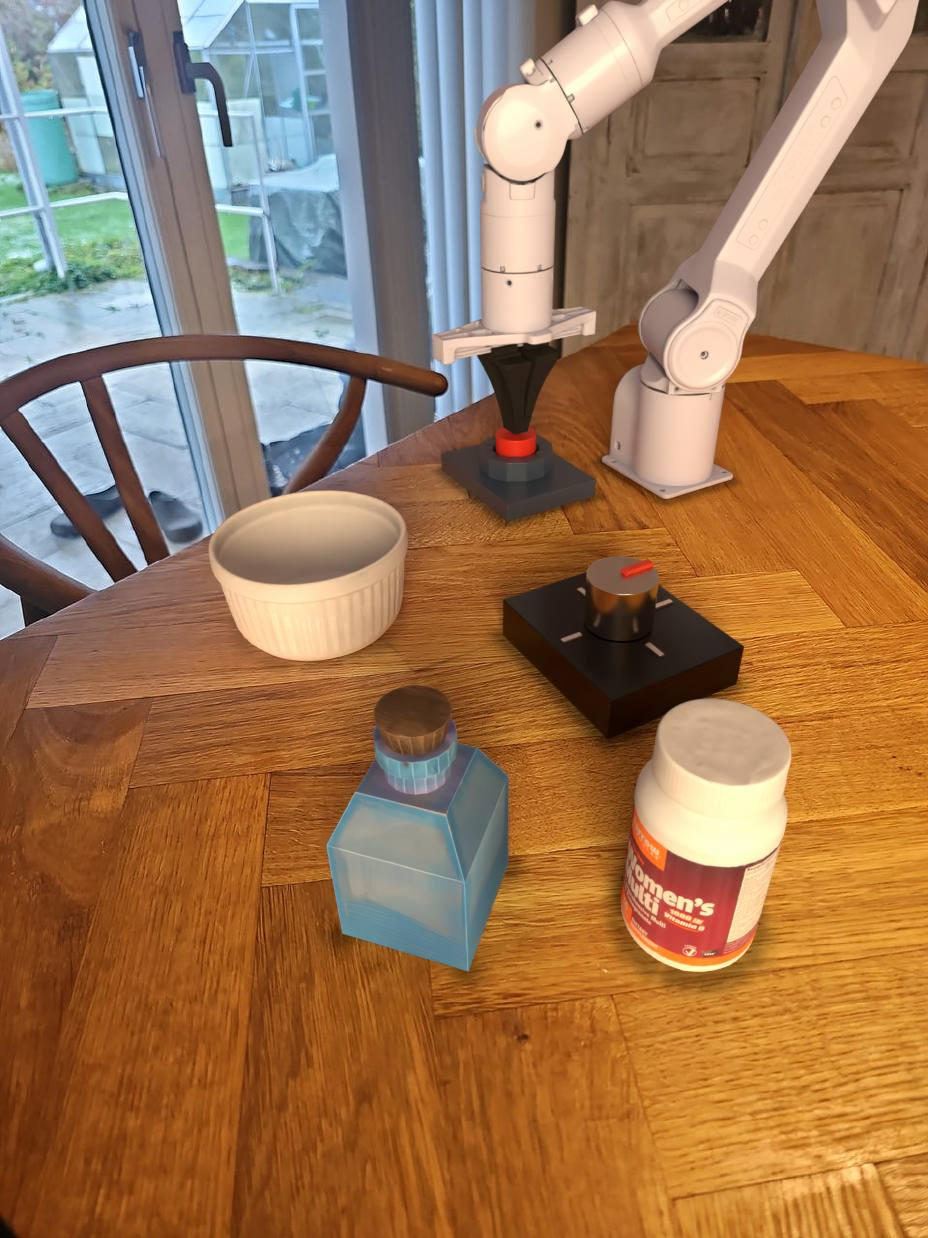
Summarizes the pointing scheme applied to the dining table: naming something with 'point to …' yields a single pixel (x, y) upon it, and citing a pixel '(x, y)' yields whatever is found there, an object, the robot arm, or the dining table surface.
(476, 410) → the dining table surface
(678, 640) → the panel
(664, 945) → the pill bottle
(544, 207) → the robot arm
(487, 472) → the button block
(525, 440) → the button
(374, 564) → the ramekin
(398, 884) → the perfume bottle
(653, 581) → the dial
